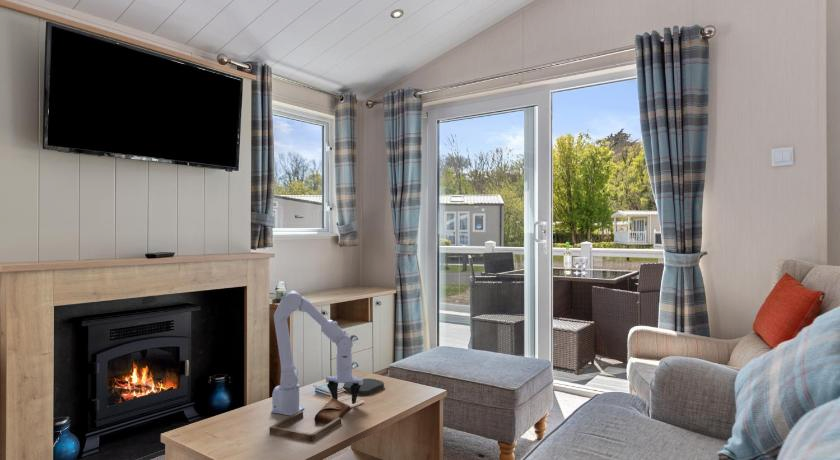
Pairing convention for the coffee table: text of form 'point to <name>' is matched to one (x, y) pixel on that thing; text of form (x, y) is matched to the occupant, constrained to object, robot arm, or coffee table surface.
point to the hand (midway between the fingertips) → (344, 402)
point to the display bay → (280, 430)
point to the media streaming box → (367, 387)
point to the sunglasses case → (331, 412)
